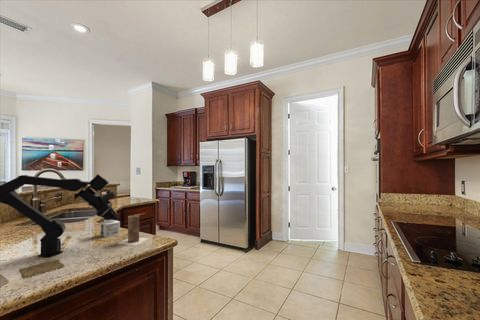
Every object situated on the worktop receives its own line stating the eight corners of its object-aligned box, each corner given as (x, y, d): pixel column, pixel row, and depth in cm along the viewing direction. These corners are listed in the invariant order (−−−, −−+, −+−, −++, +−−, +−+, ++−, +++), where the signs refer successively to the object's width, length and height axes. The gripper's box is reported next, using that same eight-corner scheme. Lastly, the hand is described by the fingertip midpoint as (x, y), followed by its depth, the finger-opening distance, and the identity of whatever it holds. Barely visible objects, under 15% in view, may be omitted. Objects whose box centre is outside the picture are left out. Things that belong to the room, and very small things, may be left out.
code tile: (136, 245, 111) (136, 245, 111) (116, 244, 113) (116, 243, 113) (148, 238, 122) (148, 238, 122) (131, 237, 124) (131, 237, 124)
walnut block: (128, 243, 114) (128, 217, 114) (127, 240, 118) (128, 215, 119) (139, 241, 116) (139, 216, 117) (138, 238, 121) (138, 214, 121)
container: (105, 238, 123) (106, 214, 124) (99, 235, 128) (100, 212, 129) (120, 234, 130) (120, 212, 130) (114, 232, 134) (114, 210, 135)
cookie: (58, 260, 95) (58, 257, 95) (65, 268, 87) (65, 265, 87) (18, 270, 86) (19, 267, 86) (23, 280, 78) (23, 277, 78)
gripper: (105, 187, 104) (131, 208, 109) (106, 184, 120) (128, 203, 125) (84, 205, 100) (112, 227, 105) (88, 200, 116) (112, 219, 121)
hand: (117, 218), depth 114 cm, fingers open, 9 cm apart
